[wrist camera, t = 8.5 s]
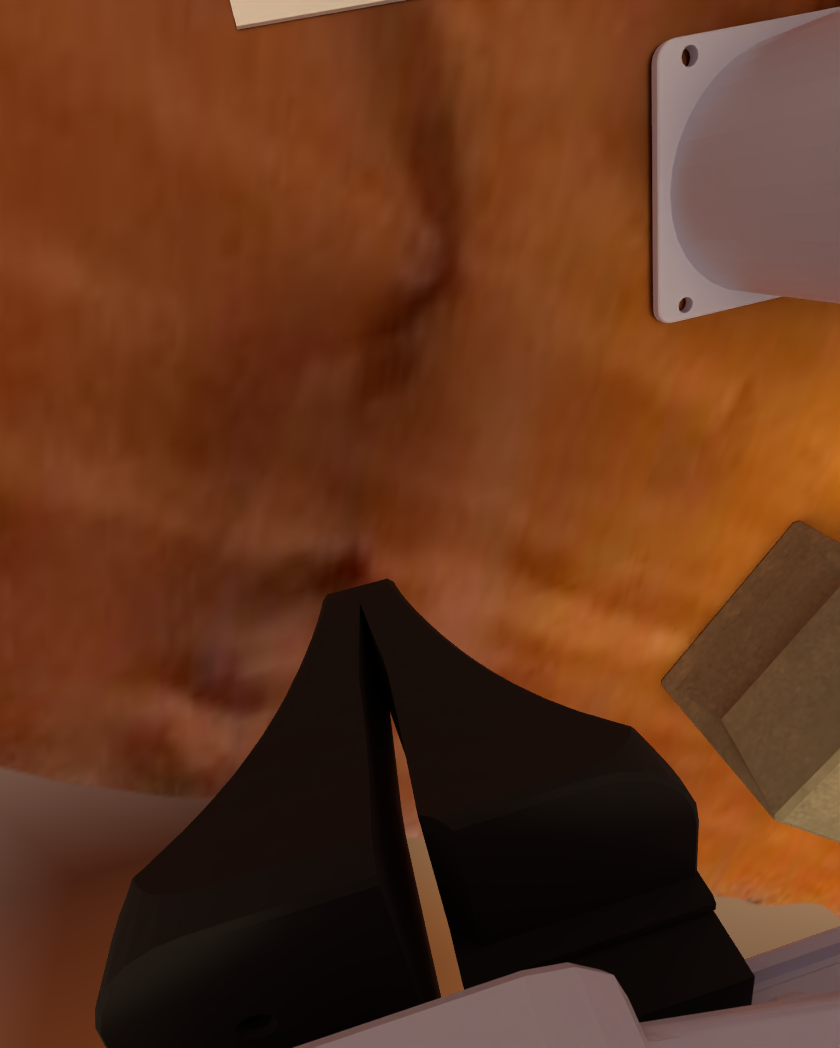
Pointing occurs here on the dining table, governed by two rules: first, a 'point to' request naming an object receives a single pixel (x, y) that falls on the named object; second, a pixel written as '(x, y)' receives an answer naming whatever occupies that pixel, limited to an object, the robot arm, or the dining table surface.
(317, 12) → the beige mat
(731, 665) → the tissue box
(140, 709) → the dining table surface
